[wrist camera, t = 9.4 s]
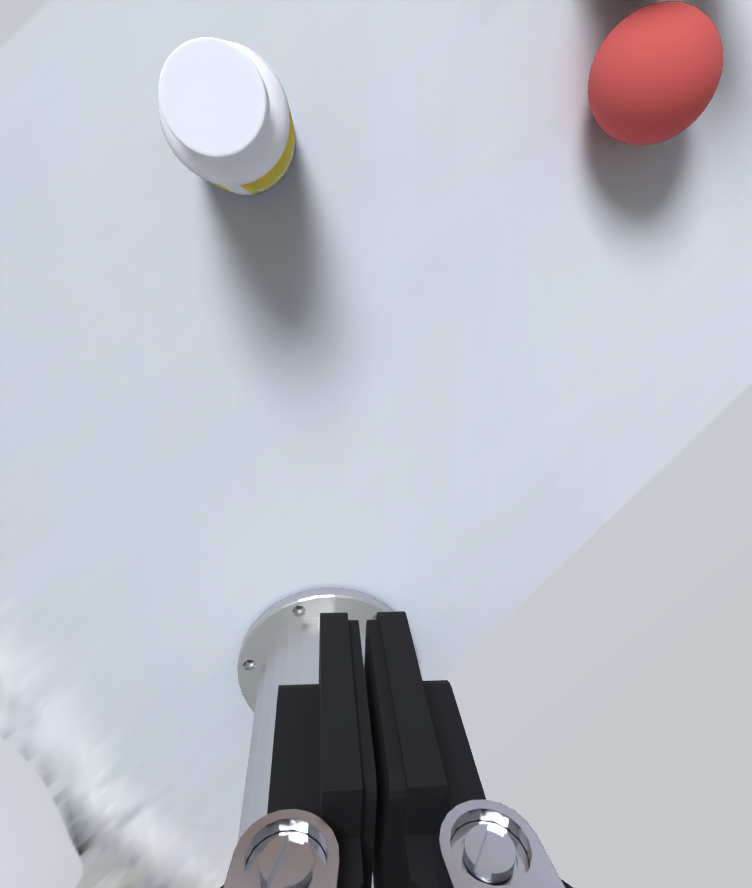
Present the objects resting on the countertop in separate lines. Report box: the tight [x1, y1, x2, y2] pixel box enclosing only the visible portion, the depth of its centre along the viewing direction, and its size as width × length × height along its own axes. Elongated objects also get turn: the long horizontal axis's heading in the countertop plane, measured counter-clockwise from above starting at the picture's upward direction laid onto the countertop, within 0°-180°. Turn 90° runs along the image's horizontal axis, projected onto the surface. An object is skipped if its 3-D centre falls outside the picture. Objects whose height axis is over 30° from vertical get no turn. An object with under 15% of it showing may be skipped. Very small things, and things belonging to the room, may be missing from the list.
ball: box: [588, 1, 723, 145], centre depth 29 cm, size 6×6×6 cm
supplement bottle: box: [158, 37, 295, 195], centre depth 26 cm, size 5×5×10 cm
